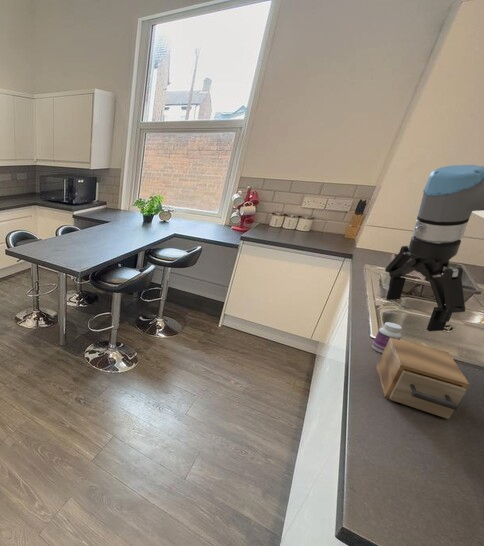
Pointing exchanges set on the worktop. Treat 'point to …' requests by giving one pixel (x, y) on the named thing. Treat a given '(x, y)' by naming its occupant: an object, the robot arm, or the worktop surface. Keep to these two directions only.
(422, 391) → the drawer
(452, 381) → the cabinet
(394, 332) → the pill bottle
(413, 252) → the robot arm
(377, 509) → the worktop surface
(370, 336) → the worktop surface
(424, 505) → the worktop surface
